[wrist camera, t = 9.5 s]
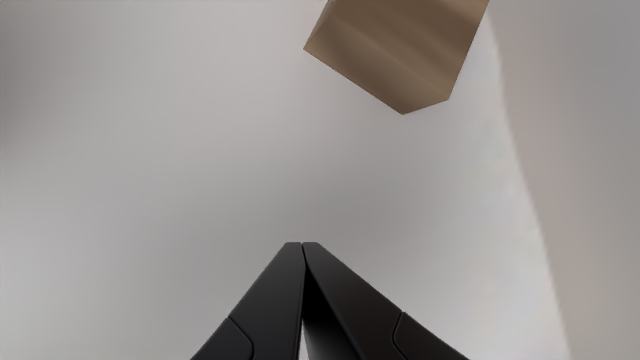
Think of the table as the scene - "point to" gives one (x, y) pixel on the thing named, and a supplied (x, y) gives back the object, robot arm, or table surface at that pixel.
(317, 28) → the walnut block
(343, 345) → the robot arm
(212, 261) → the table surface
